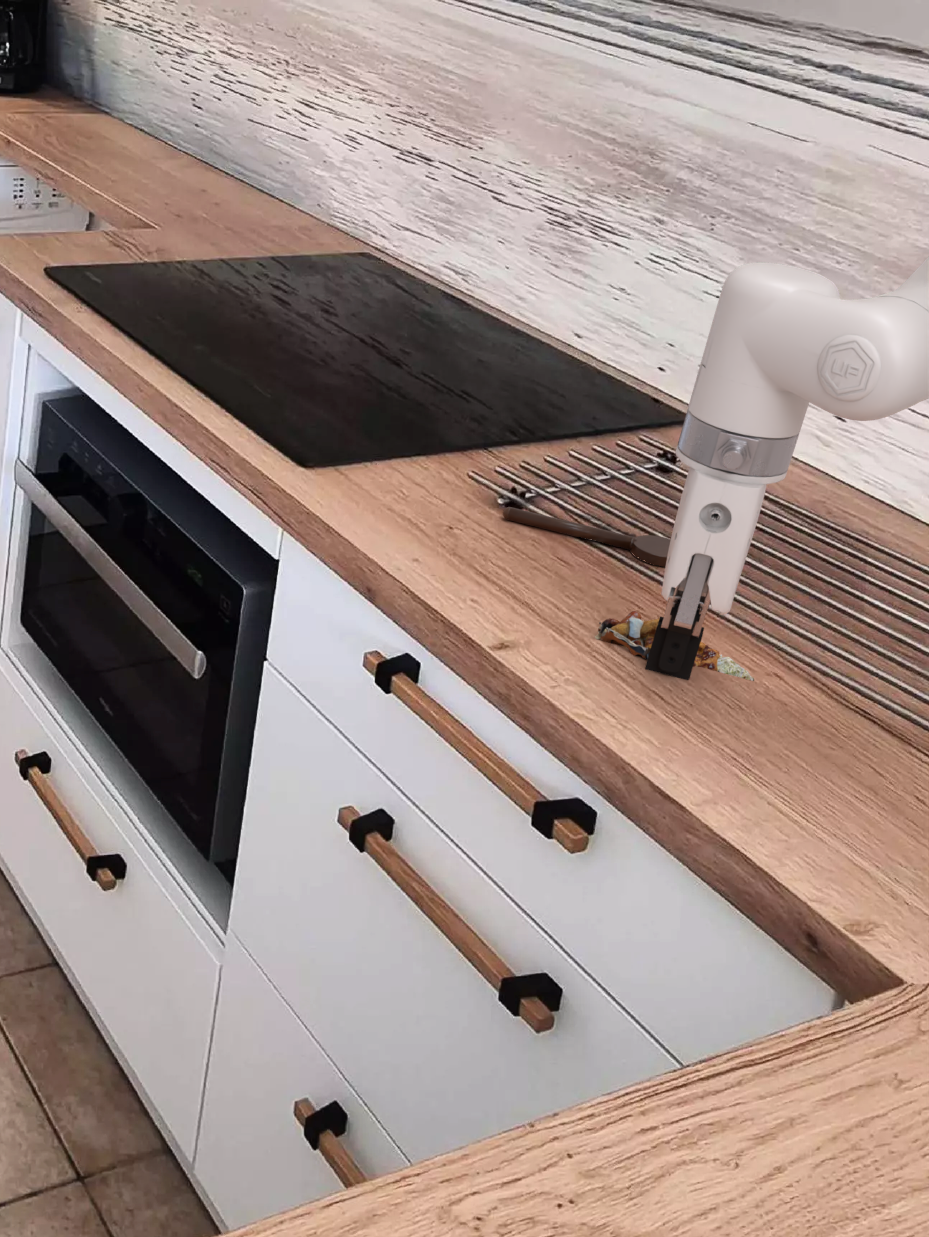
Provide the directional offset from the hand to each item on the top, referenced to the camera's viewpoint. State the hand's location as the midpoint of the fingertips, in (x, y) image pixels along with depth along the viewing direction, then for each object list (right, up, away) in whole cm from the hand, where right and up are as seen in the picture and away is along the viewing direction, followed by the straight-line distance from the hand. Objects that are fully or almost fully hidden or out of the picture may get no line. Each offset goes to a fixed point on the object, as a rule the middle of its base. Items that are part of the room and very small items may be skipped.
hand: (667, 672), depth 127 cm
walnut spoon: (+3, +11, +26) cm, 28 cm away
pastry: (+2, 0, +4) cm, 5 cm away
